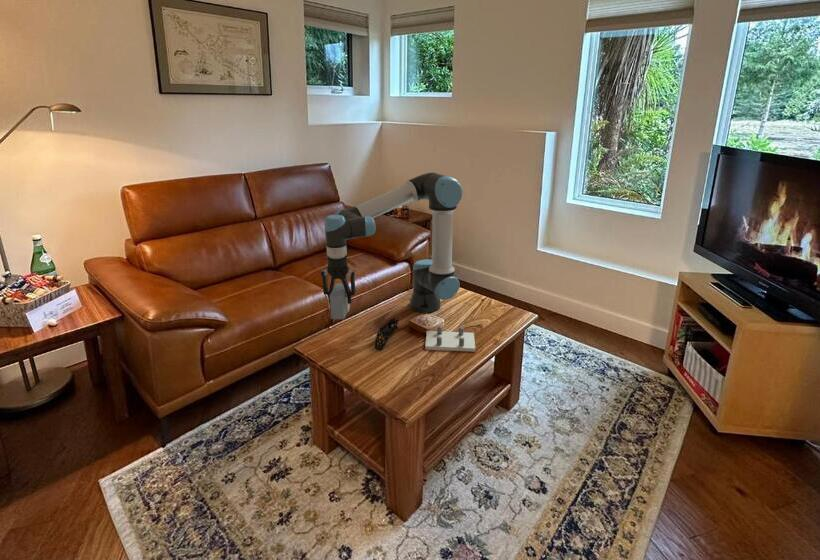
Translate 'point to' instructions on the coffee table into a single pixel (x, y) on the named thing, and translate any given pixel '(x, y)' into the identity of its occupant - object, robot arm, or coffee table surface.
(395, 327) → the decorative element
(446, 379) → the coffee table surface
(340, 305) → the slate block
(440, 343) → the pegboard
